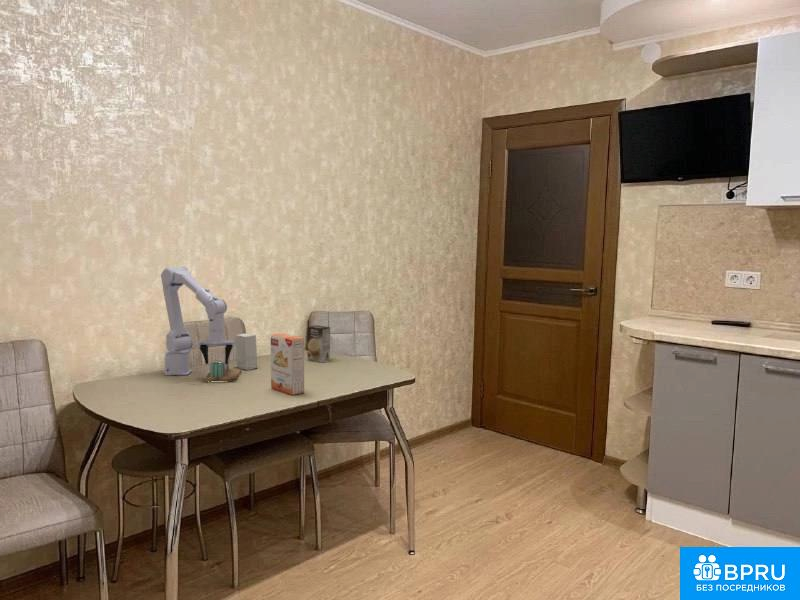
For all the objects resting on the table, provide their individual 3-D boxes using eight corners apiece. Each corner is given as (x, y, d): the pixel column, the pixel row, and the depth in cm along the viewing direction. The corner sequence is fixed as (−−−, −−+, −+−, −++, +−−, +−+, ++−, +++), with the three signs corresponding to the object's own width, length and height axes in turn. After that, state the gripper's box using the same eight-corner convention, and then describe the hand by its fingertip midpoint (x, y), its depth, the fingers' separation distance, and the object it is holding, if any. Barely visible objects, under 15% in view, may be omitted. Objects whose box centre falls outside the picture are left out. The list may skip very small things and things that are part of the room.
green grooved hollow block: (210, 377, 248) (209, 365, 248) (212, 374, 254) (212, 362, 253) (221, 377, 249) (221, 364, 248) (223, 374, 254) (223, 362, 254)
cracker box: (270, 388, 238) (269, 334, 236) (283, 386, 242) (283, 332, 240) (291, 395, 228) (291, 339, 226) (304, 393, 232) (304, 337, 230)
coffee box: (306, 360, 291) (306, 326, 290) (315, 358, 297) (315, 324, 295) (321, 363, 287) (322, 328, 285) (330, 360, 292) (330, 326, 290)
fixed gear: (211, 372, 257) (211, 361, 256) (214, 369, 263) (214, 358, 262) (227, 372, 257) (227, 360, 257) (229, 369, 264) (229, 357, 263)
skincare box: (257, 368, 272) (257, 335, 271) (245, 370, 268) (245, 336, 267) (247, 365, 278) (247, 332, 277) (235, 367, 274) (235, 333, 273)
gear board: (204, 382, 246) (204, 371, 246) (212, 372, 264) (212, 361, 263) (235, 382, 248) (235, 370, 247) (241, 372, 265) (241, 361, 265)
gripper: (195, 331, 245) (196, 365, 246) (233, 331, 246) (233, 365, 248) (199, 328, 252) (199, 361, 253) (236, 328, 253) (236, 361, 255)
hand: (216, 363), depth 251 cm, fingers open, 7 cm apart
